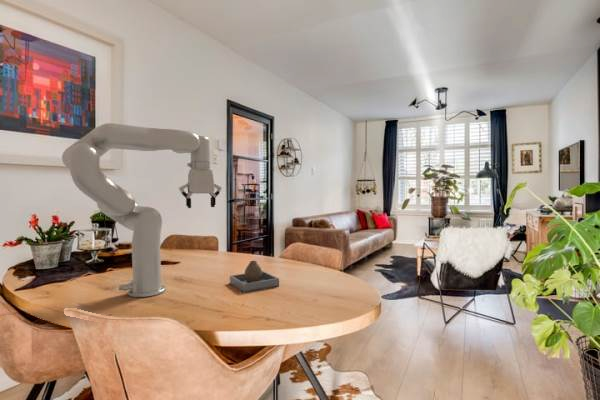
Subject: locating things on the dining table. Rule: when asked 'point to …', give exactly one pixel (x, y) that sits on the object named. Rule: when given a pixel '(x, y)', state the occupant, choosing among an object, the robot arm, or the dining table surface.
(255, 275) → the vase
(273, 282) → the tray
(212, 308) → the dining table surface
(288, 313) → the dining table surface
